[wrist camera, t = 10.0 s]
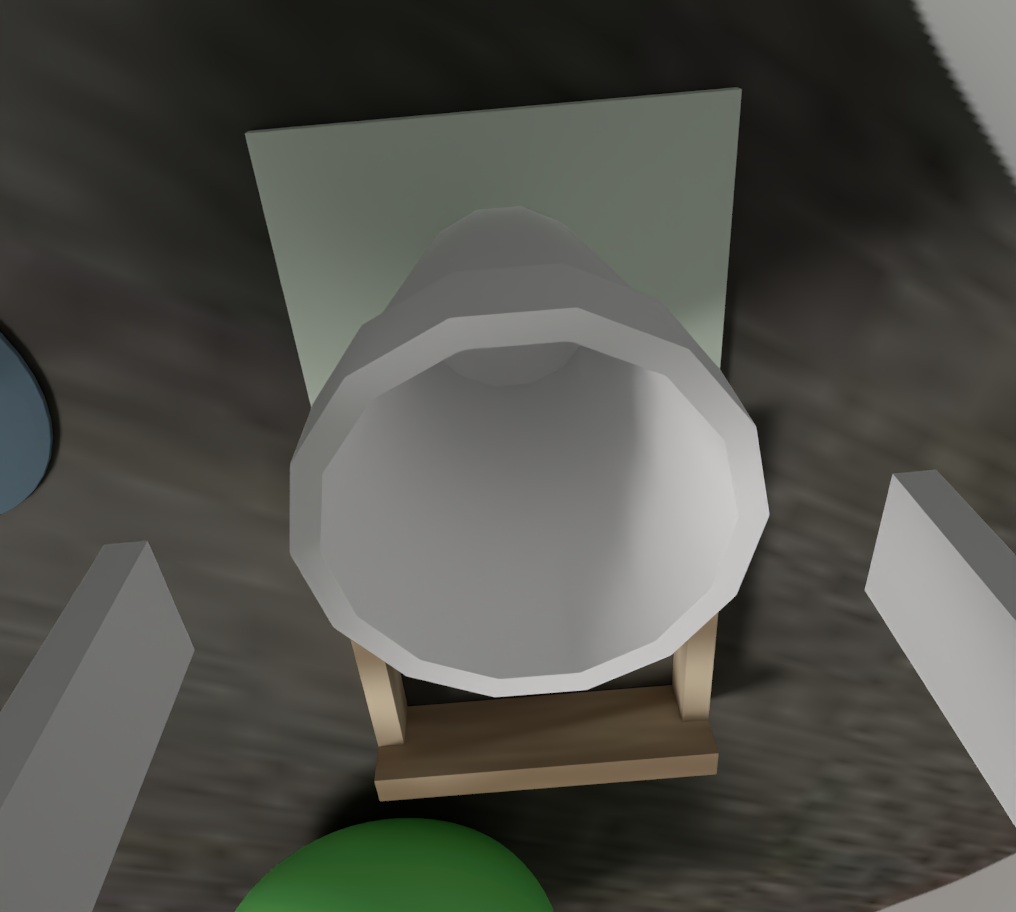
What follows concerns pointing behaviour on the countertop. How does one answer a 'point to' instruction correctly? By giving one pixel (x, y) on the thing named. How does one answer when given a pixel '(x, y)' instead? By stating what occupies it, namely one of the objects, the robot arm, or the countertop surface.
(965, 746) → the robot arm
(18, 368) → the cocktail glass
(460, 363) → the foam cup
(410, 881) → the toy bird
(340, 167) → the pad
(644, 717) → the wooden u-shaped frame
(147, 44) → the countertop surface
